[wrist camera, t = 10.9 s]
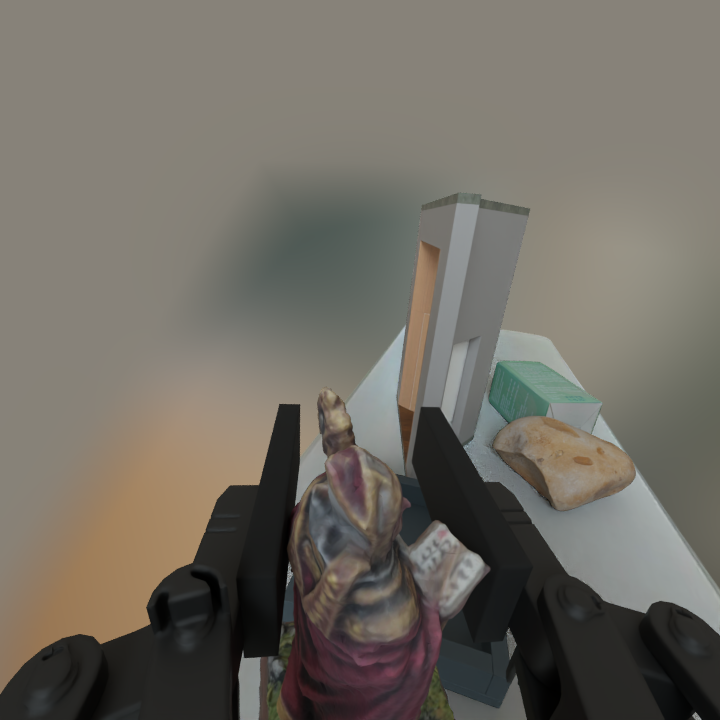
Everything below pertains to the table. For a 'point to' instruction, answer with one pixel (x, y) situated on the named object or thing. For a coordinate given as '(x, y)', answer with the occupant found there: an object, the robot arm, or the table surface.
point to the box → (541, 395)
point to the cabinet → (456, 310)
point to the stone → (563, 461)
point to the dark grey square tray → (448, 625)
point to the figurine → (363, 595)
